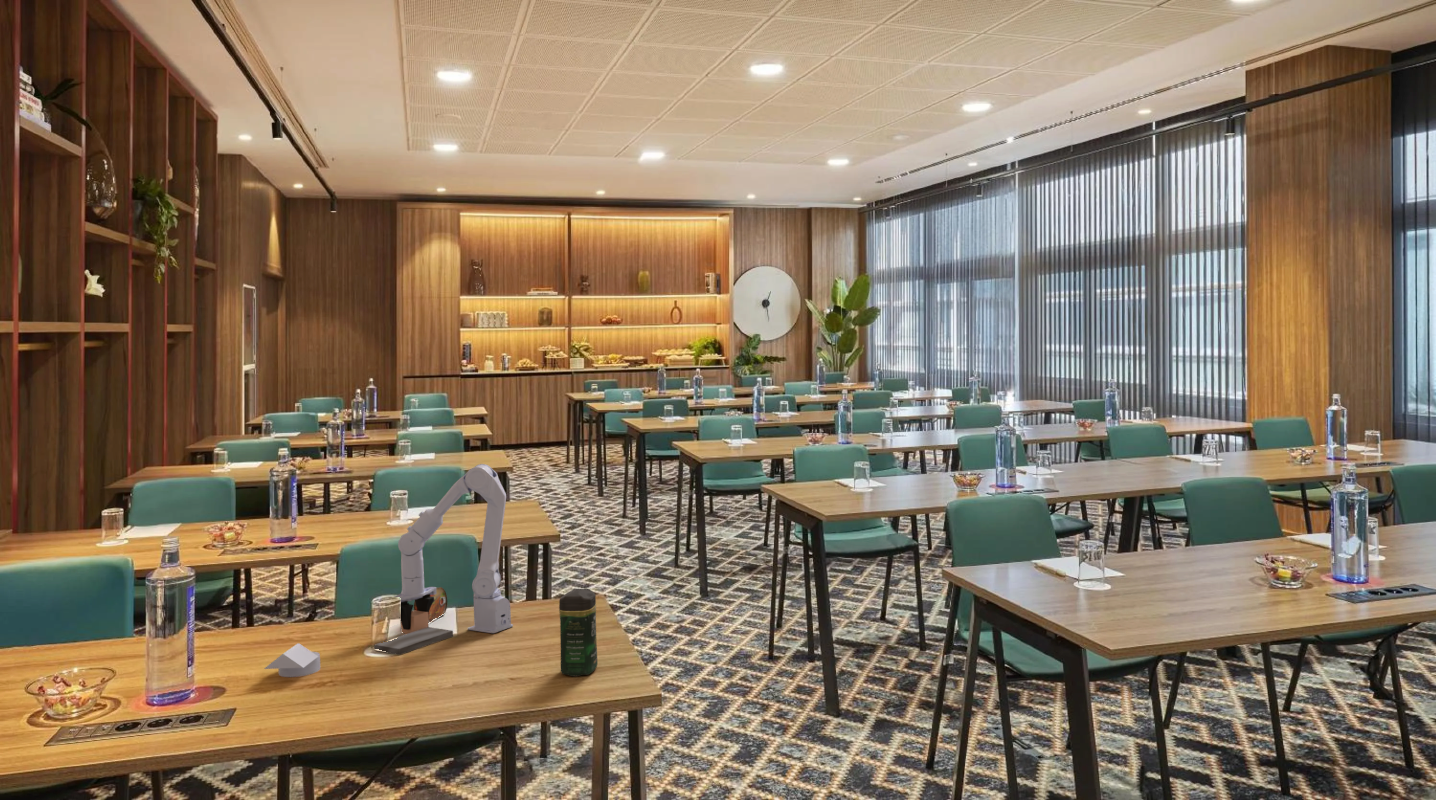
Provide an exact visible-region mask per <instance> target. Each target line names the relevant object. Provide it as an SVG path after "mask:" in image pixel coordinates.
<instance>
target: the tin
mask: <svg viewBox="0 0 1436 800" xmlns="http://www.w3.org/2000/svg"><path fill="white" fill-rule="evenodd" d="M436 593H437V594H435V595H430V597H434V602H433V603H432V605H431V608H430V610H429V614H428V623H429V622H431V621H432V620H433V619H435V618H438V617H439V616H441V615H442V614H444V613H445V614H446V611H447V609H448V596H447V595H448V594H447V593H446V589H445V588H443V587H442V586H441V587H440V586H439V587H436ZM414 610H416V611H417V606H416V602H415V601H414V603H413V611H414ZM445 614H444V615H445Z"/></svg>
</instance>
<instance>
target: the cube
mask: <svg viewBox="0 0 1436 800" xmlns="http://www.w3.org/2000/svg"><path fill="white" fill-rule="evenodd" d="M429 625H430V624H428V612H423V611H416V610H414V609H413V610H412V613H411V628H410V629H409V630H406V629H403V626H402V623H401V622H400V629H401V628H402V632H403V633H405V634H408V633H411V632H414V631H417V630H421V629H424V628H427V627H430V626H429ZM403 633H402V634H403ZM405 634H404V635H405Z"/></svg>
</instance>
